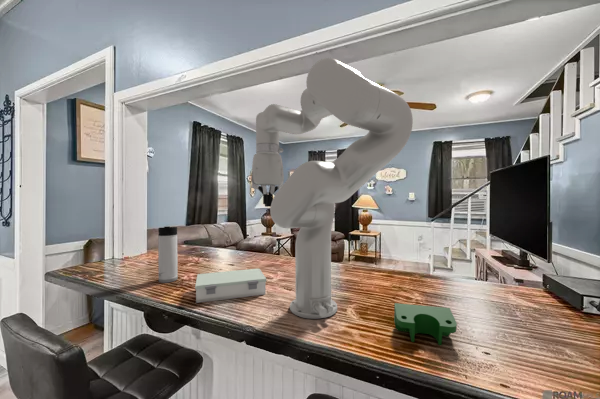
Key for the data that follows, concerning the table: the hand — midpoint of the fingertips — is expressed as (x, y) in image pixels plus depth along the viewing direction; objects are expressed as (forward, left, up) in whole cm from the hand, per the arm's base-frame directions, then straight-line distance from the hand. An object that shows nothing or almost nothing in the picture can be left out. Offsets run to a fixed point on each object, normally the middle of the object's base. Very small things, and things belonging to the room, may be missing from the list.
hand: (268, 206), depth 85 cm
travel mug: (+21, +33, -27) cm, 48 cm away
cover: (+1, +12, -23) cm, 26 cm away
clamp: (-41, -25, -27) cm, 55 cm away
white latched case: (+1, +12, -27) cm, 30 cm away
